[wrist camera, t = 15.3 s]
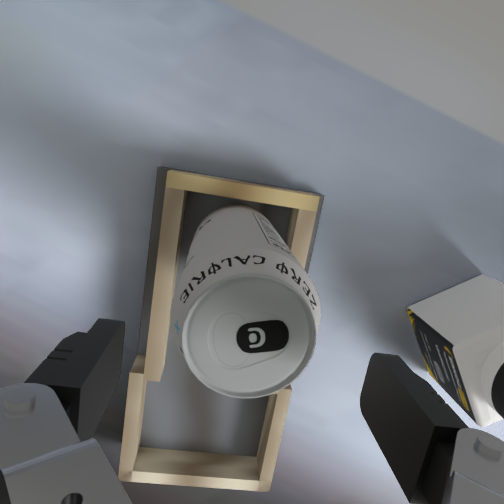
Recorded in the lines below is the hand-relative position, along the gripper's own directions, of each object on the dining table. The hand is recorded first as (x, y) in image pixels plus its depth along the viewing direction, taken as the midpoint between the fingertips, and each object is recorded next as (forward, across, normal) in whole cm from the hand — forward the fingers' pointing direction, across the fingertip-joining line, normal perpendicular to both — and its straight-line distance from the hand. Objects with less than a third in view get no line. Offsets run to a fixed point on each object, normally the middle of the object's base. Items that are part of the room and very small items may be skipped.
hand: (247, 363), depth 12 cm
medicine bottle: (+18, -20, +4) cm, 27 cm away
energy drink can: (+17, 0, 0) cm, 17 cm away
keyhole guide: (+18, 0, +7) cm, 19 cm away
